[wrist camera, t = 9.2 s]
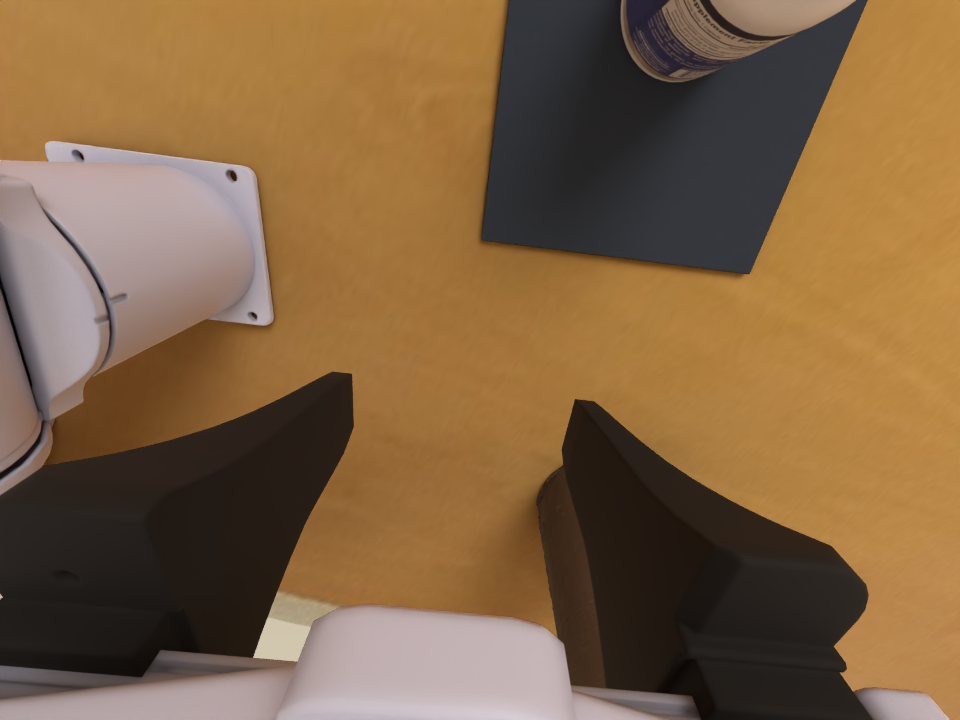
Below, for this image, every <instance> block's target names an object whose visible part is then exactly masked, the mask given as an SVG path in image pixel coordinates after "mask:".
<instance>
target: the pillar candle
mask: <svg viewBox="0 0 960 720" xmlns="http://www.w3.org/2000/svg"><path fill="white" fill-rule="evenodd" d="M537 506H538V511H539V525H540V533H541V540H542V545H543V549H544V558H545V564H546V571H547V575H548V583H549V590H550V595H551V598H552V604H553V611H554V618H555V624H556V630H557V636H558V639H559V640H560V641H561V642H562V643H563V644H564V648H565V654H566V660H567V667H568V673H569V679H570V685H571V686H582V687H594V688H605V689H606V686H605V677H604V668H603V659H602V652H601V644H600V636H599V628H598V621H597V614H596V608H595V601H594V595H593V588H592V582H591V576H590V571H589V565H588V559H587V554H586V549H585V545H584V541H583V537H582V534H581V530H580V527H579V523H578V520H577V516H576V513H575V509H574V506H573V502H572V499H571V495H570V492H569V488H568V485H567V481H566V477H565V471H564V466H563V467H560V469H559V470H557V471H556V472H555V473H553V475H552V476H551V477H550V478H549V479H548V480H547V481H546V483H545V485H544V486H543V487H542V490H541V492H540V493H539V496H538V500H537Z"/></svg>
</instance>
